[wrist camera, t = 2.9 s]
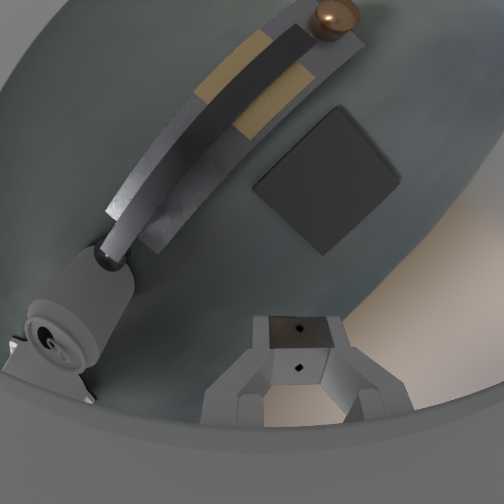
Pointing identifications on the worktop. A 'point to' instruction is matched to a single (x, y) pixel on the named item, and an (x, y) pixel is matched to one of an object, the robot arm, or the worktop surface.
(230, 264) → the worktop surface
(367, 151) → the mat
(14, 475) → the robot arm
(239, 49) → the brown wooden block
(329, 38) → the body
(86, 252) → the can
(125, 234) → the lever
